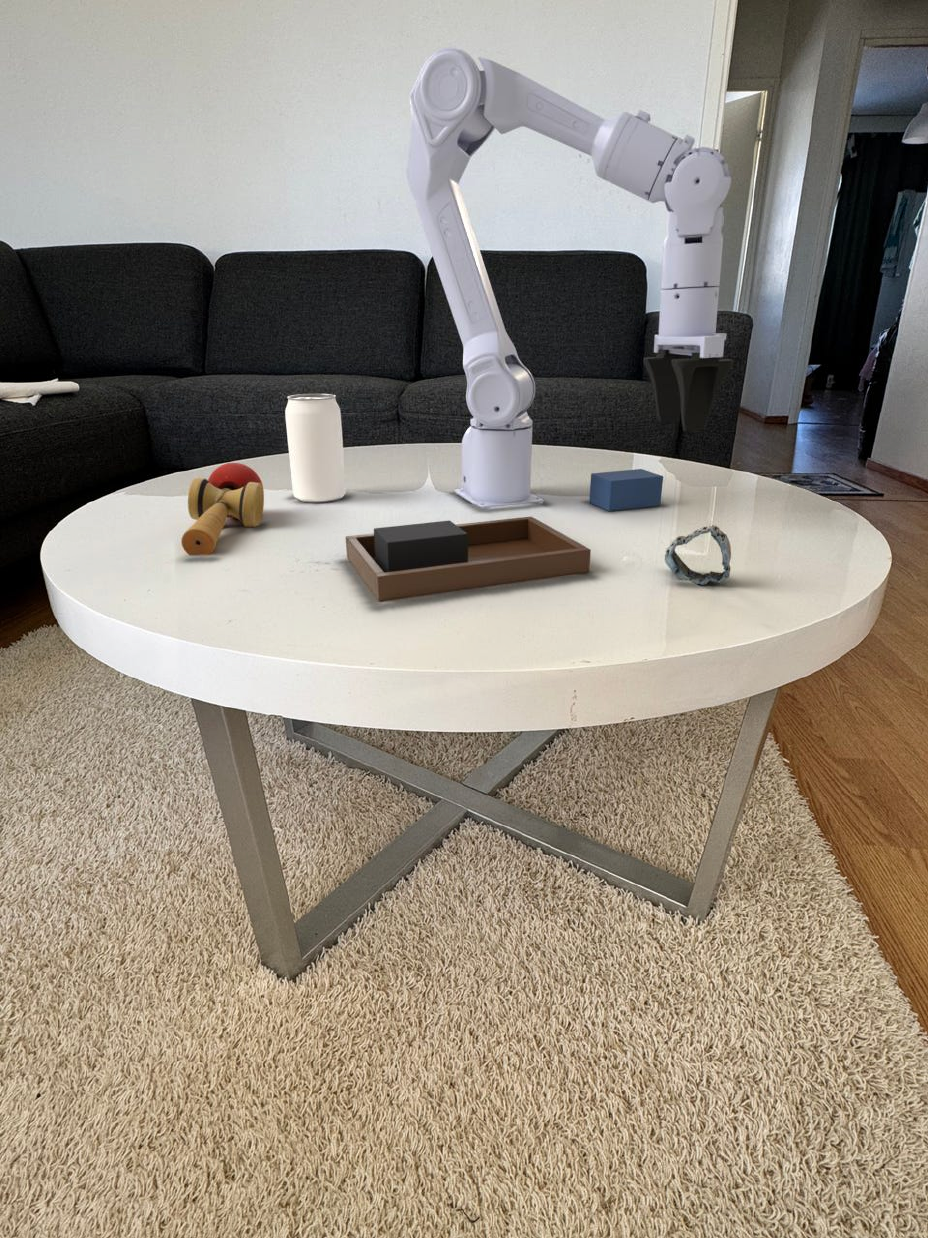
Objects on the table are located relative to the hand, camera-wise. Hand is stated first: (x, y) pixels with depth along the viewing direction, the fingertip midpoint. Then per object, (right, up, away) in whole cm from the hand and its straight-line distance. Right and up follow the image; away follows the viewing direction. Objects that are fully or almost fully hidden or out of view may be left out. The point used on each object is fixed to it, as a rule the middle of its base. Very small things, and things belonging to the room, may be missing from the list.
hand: (680, 425), depth 79 cm
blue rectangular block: (-5, -8, +7) cm, 11 cm away
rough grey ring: (-4, -18, -18) cm, 26 cm away
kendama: (-49, -12, -4) cm, 50 cm away
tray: (-24, -17, -15) cm, 33 cm away
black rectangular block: (-27, -17, -16) cm, 36 cm away
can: (-42, -6, +11) cm, 43 cm away
